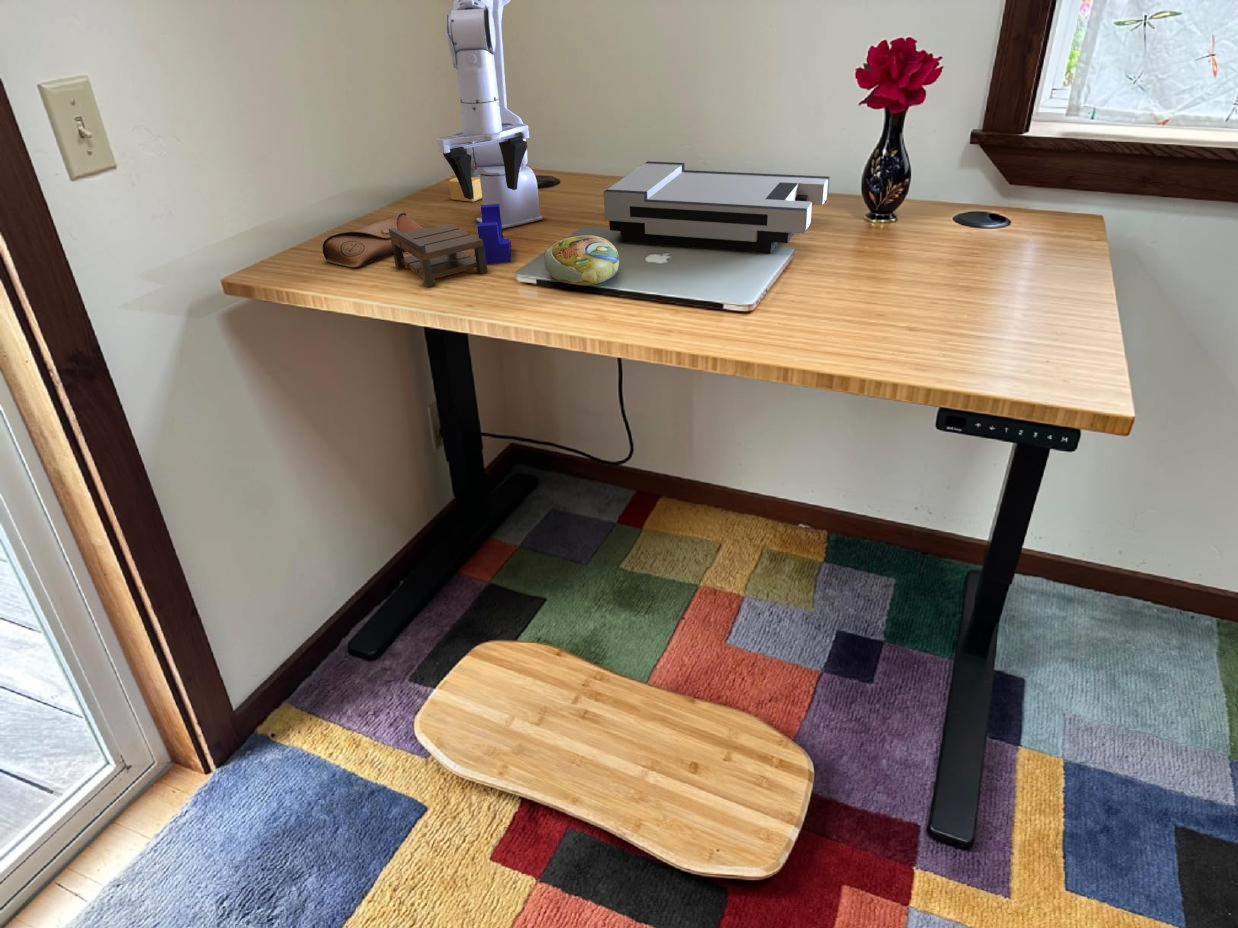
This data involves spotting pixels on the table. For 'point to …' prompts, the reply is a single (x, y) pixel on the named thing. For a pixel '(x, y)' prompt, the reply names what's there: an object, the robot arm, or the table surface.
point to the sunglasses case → (366, 242)
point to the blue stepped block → (493, 235)
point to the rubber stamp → (457, 191)
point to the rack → (437, 251)
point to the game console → (711, 207)
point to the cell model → (582, 260)
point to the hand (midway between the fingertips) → (490, 193)
